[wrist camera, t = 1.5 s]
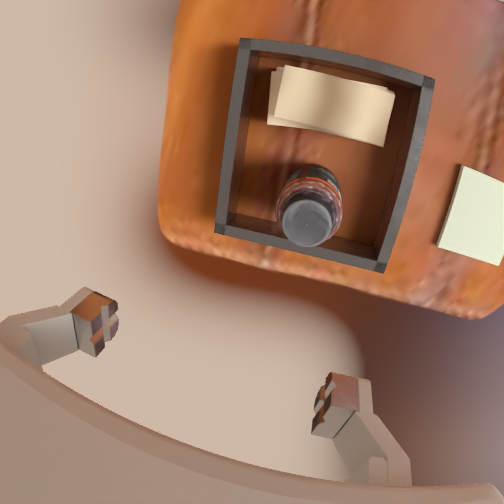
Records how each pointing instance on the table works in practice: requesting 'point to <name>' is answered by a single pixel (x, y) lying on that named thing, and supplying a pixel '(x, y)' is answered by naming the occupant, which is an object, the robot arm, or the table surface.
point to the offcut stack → (329, 104)
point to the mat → (475, 218)
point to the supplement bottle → (309, 206)
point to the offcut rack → (237, 136)
